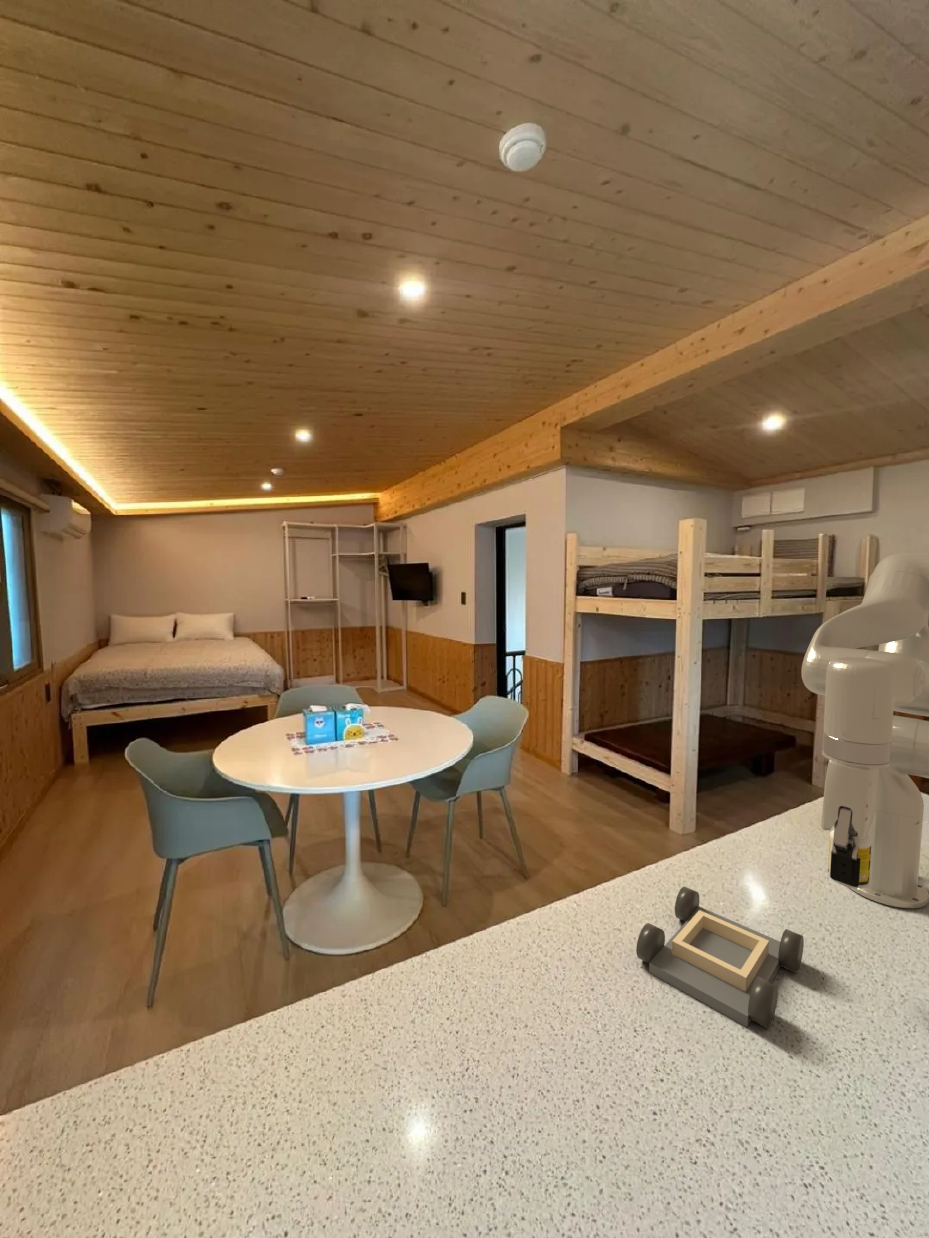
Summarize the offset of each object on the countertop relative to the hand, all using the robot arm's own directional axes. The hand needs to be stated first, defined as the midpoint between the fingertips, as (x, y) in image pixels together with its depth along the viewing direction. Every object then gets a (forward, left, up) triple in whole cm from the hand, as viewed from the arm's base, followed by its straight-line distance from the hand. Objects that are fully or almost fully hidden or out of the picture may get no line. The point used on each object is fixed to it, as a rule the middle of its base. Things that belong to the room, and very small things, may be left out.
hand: (848, 872), depth 75 cm
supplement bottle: (0, 0, -1) cm, 1 cm away
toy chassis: (+11, -13, -15) cm, 22 cm away
